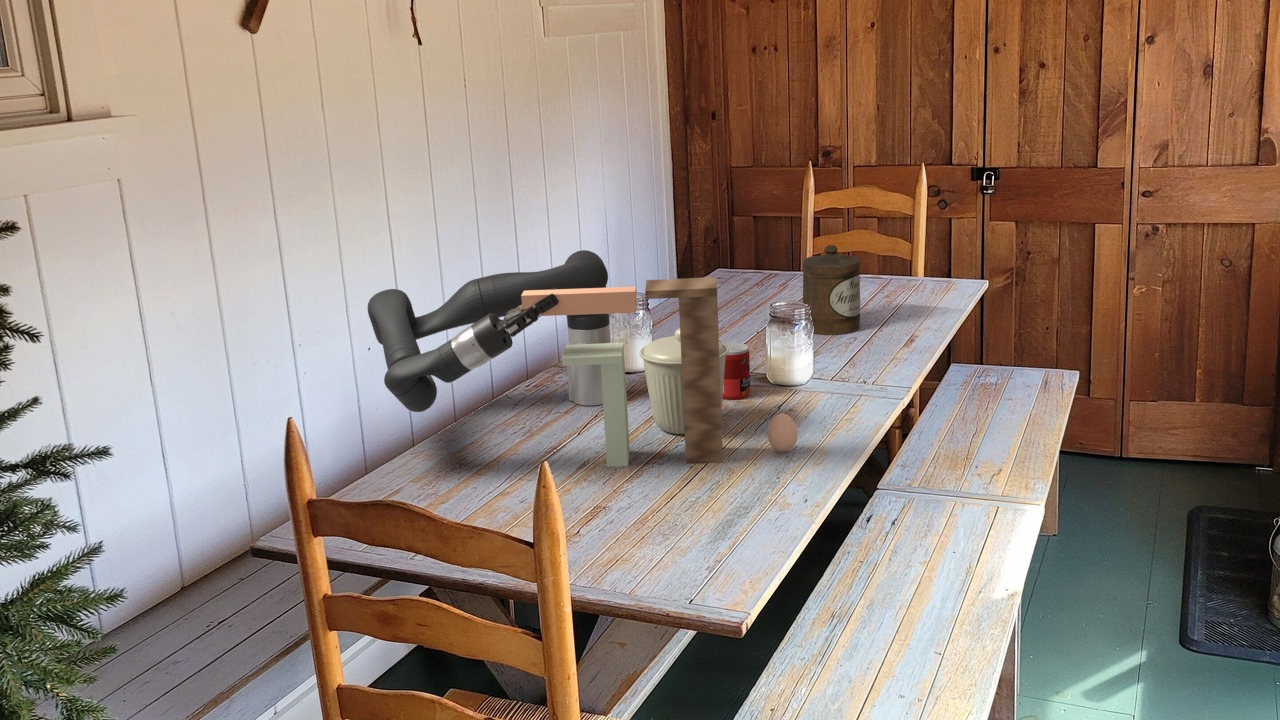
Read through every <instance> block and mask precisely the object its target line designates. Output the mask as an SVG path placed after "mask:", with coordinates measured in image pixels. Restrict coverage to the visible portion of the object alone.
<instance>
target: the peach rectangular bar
mask: <svg viewBox="0 0 1280 720" xmlns="http://www.w3.org/2000/svg"><path fill="white" fill-rule="evenodd" d="M550 294H554V295H555V296H556V298H557V299H558V301H559V303H558V304H557V305H556V306H554V307H553V308H551V309H549V310H548V311H546V312H544V313H542V315H541V317H546V316H548V317H549V316H550V317H551V316H552V317H553V316H554V317H555V316H567V315H584V314H609V315H611V314H634V313H637V309H638V307H637V286H618V287H617V286H614V287H606V288H583V289H556V290H528V291H523V293H522V295H521V299H522V308H528V307H530V306H531V305H532V304H536V303H537V302H539V301H540V300H542V299H544V298H545V297H547V296H548V295H550ZM536 305H537V304H536Z"/></svg>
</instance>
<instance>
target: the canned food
mask: <svg viewBox="0 0 1280 720" xmlns="http://www.w3.org/2000/svg"><path fill="white" fill-rule="evenodd" d="M723 343H724V342H723ZM724 344H726V345H727V346H728V348H729V351H728V353H727V355H726V356H725V371H724V384H723V396H722V400H725V401H736V400H742V399H745V398H748V397H749V396H750V393H751V368H750V367H751V366H750V365H751V363H750V362H751V361H750V356H751V355H750V348H749V347H750V346H748V345H747V344H744V343H740V342H725V343H724Z"/></svg>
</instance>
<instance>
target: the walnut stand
mask: <svg viewBox="0 0 1280 720" xmlns="http://www.w3.org/2000/svg"><path fill="white" fill-rule="evenodd" d="M717 286H718V284H717V278H716V276H711V277H707V276H706V277H690V278H689V277H688V278H687V277H686V278H665V279H646V281H645V291H644V292H645V300H653V299H654V300H656V299H678V309H679V310H678V311H679V314H678V315H679V328H680V338H681V361H682V383H683V406H684V429H685V434H684V445H685V448H684V450H685V465H692V464H695V465H696V464H717V463H718V464H721V463H724V453H723V452H724V451H723V447H724V446H723V428H722V427H723V423H722V405H721V389H720V361H719V341H720V340H719V339H720V337H719V309H718V307H719V305H718V304H719V303H718V287H717Z"/></svg>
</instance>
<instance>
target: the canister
mask: <svg viewBox="0 0 1280 720" xmlns="http://www.w3.org/2000/svg"><path fill="white" fill-rule="evenodd" d="M728 351H729V348H728V346H727V345H726V344H724V342H722V341H720V340H719V361H720V389H721V406H723V404H722V403H723V399H722V396H723V384H724V371H725V356H726V355H727V353H728ZM638 352H639V357H640V358H641V359H642V360H643V367H644V368H643V369H644V372H645V373H644V374H645V378H646V379H645V380H646V385H647V390H648V396H649V403H650V407H651V412H652V416H653V420H654V422H655V424H656V426H657V427H658V428H659V429H660V430H662V431H664V432H666V433H671V434H674V435H675V434H676V435H685V429H684V406H683V383H682V361H681V338H680V327H678V328H677V329H676V330H675V331H674V335H671V336H665V337H664V336H663V337H660V338H657V339H655V340H653V341H651V342H649V343H648V344H646V345H644V346H643V347H642V348H641V349H640V350H639V351H638Z"/></svg>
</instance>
